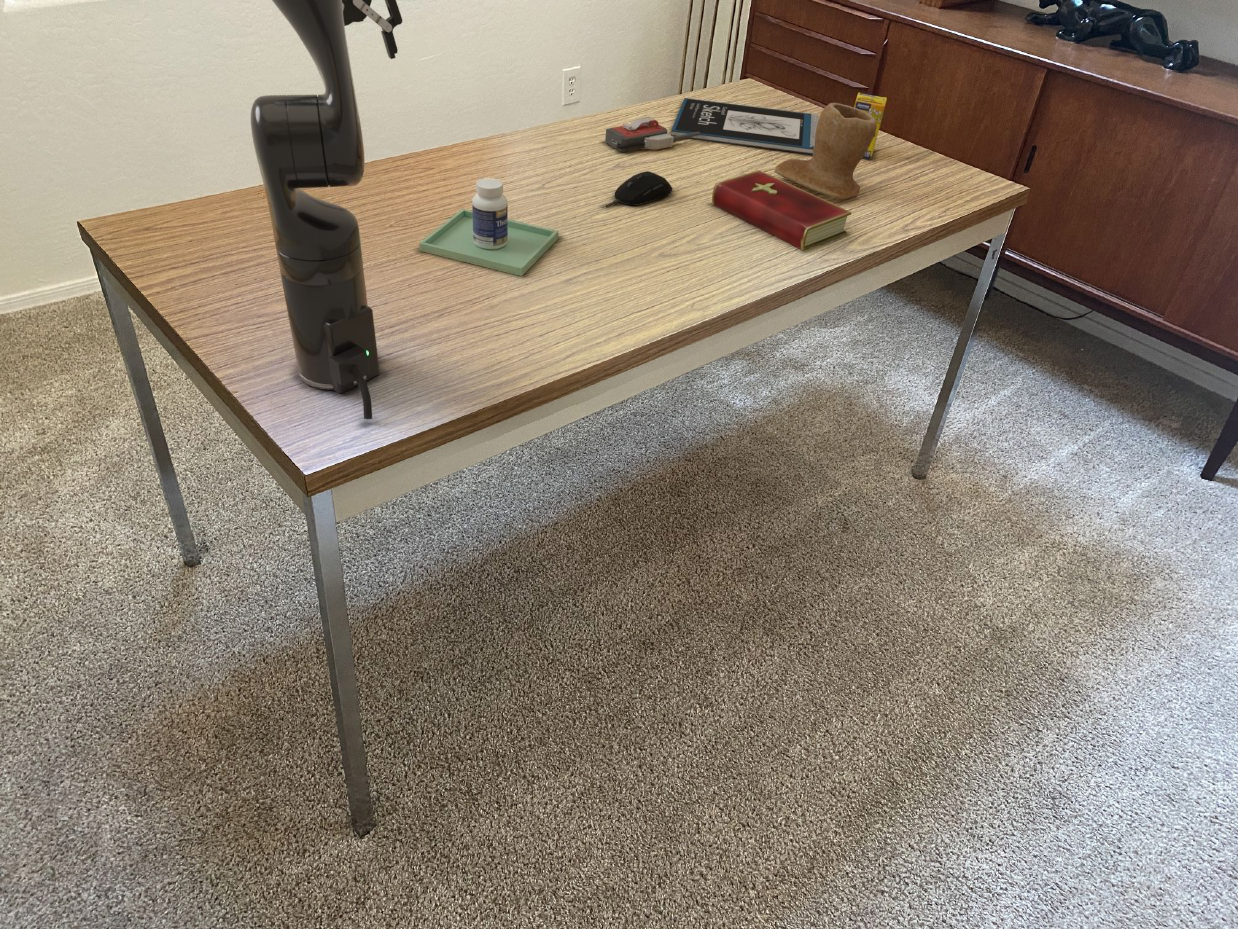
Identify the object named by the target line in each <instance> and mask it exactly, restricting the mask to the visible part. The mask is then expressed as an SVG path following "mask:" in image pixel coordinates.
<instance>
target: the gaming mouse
mask: <svg viewBox="0 0 1238 929" xmlns="http://www.w3.org/2000/svg"><path fill="white" fill-rule="evenodd" d="M672 192H673V186H672V185H671V184H670V183H669V181H668V180H667V179H666V178H665V177H663V176H661V175H659V174H657V173H655V172H652V171H649V170H647V171H642V172H639V173H636V174H633V175H632V176H631V177H629V178H628V179H626V180H625V181H624V182H623V183H621V184H620V185H619V186H618V187H617V189H616V190H615V191H614V197H615V200H613V201H612V202H610V203H608V204H605V208H608V207H611V206H615V205H617V204H619V203H622V204H626V205H629V206H639V205H643V204H648V203H650V202H655V201H658V200H662V199H665V198H666V197H668V196H669V195H670V194H672Z"/></svg>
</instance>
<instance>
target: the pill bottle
mask: <svg viewBox="0 0 1238 929" xmlns="http://www.w3.org/2000/svg"><path fill="white" fill-rule="evenodd" d="M475 191H476V194H474V196H473V197H472V200H471V208H472V209H471V211H472V213H473V241H474V243H475V245H477V246H478V247H480V248H484V249H499V248H502V247H504V246H505V245H506V244H507V238H508V219H509V216H508V215H509V214H508V212H509V211H508V210H509V209H508V208H509V207H508V204H509V203H508V198H507V197H506V196H505V195H504V194H503V193H504V183H503V182H502V180H500V179H497V178H492V177H484V178H480V179H478V180H476V183H475Z"/></svg>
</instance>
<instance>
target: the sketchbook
mask: <svg viewBox="0 0 1238 929" xmlns="http://www.w3.org/2000/svg"><path fill="white" fill-rule="evenodd" d="M819 117H820V115H818V114H817V113H808V112H800V111H793V110H784V109H776V108H768V107H759V106H752V105H744V104H736V103H729V102H720V101H711V100H704V99H696V98H688V97H684V98H683V100H682V102H681V105H680V108H679V110H678V113H677V115H676V117H675V120H674V123H673V125H672V128H671V129H670V130H671V131H670V135H671V136H679V135H684V134H689V133H694V132H700V135H699V136H694V137H691V138H690V139H693V140H701V141H709V142H718V143H726V144H731V145H739V146H748V147H755V148H756V147H757V148H764V149H771V150H778V151H787V152H794V153H800V154H801V153H802V154H808V155H812V156H813V154H814V147H815V134H816V128H817V124H818V120H819Z"/></svg>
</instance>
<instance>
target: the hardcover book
mask: <svg viewBox="0 0 1238 929" xmlns="http://www.w3.org/2000/svg"><path fill="white" fill-rule="evenodd" d="M711 204H712V206H714V207H715V208H718V209H720V210H722V211H724V212H726V213H728V214H730V215H732V216H734V217H736V218H738V219H740V220H742V221H744V222H746V223H747V224H750V225H752V226H754V227H755V228H758V229H759V230H760V231H763V232H765V233H767V234H769V235H771V236H773V237H774V238H777V239H779V240H781V241H783V242H785V243H787V244H789V245H791V246H793V247H795V248H797V249H799V250H800V251H803V252H804V251H807V250H809V249H812V248H814V247H817V246H819V245H822V244H823V243H827V242H829V241H832V240H835V239H837V238H839V237H842V236H844V235H847V231H846V230H845V226H846V223H847V220H848V219H847V218H848V217H849V216H851V215H852V214H853V213H852V212H851V211H850V210H847V209H845V208H842V207H840V206H839V205H837V204H834V203H833V202H830V201H828V200H825V199H823V198H822V197H820V196H817V195H815V194H813V193H810V192H809V191H807V190H804V189H802V188H799V187H798V186H795V185H794V184H791V183H788V182H786V181H784V180H782V179H780V178H778V177H776V176H774V175H772V174H769V173H767V172H764V171H763V170H761V169H758V170H755V171H752V172H748V173H745V174H742V175H739V176H736V177H732V178H729V179H726V180H725V179H724V180H722V181H718V182H716V183H715V184H714V186H713V190H712V195H711Z"/></svg>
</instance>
